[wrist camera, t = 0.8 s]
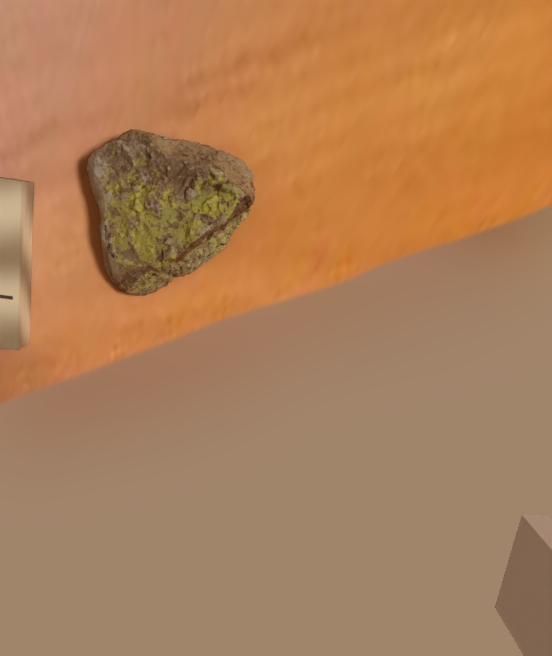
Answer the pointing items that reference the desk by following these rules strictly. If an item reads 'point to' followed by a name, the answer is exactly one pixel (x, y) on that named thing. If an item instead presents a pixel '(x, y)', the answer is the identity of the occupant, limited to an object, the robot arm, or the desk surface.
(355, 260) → the desk surface
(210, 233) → the rock
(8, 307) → the board
